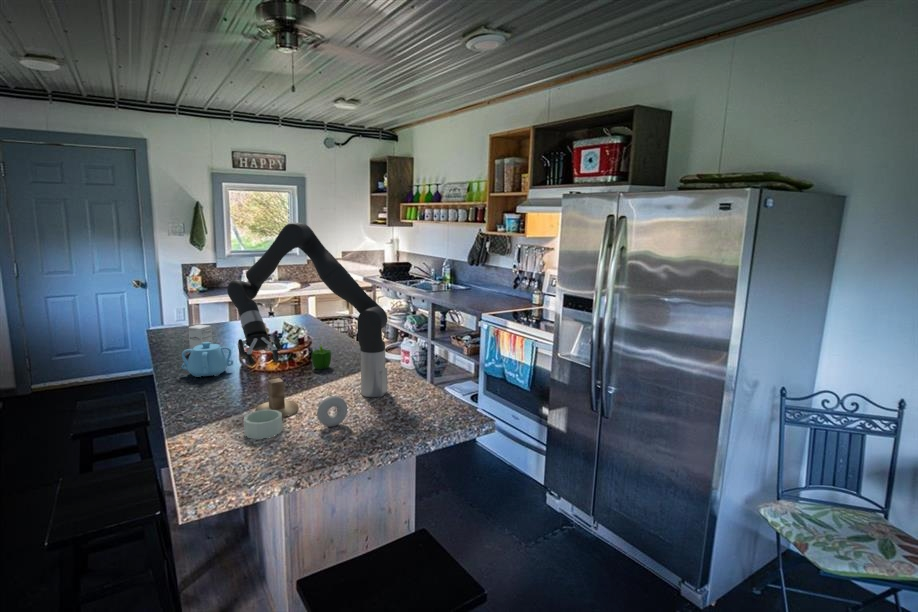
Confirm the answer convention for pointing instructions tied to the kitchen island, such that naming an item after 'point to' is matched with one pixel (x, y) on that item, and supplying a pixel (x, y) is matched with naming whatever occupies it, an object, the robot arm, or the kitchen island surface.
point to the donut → (326, 405)
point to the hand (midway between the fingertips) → (264, 362)
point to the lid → (278, 399)
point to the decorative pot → (206, 360)
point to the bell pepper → (321, 358)
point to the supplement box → (199, 335)
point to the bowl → (262, 424)
